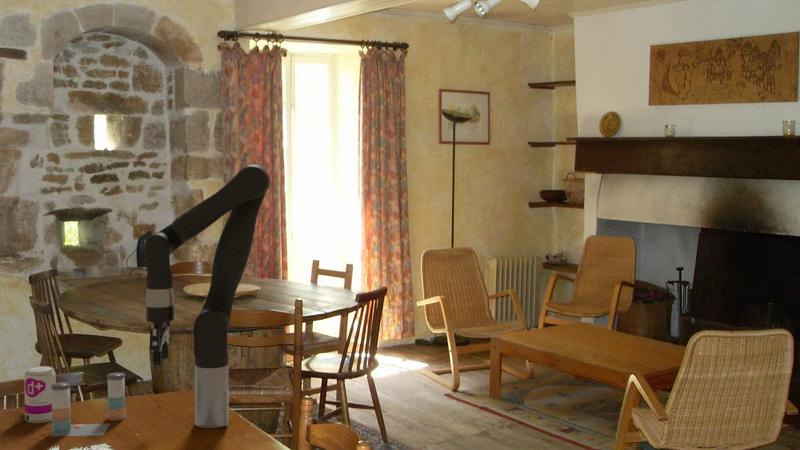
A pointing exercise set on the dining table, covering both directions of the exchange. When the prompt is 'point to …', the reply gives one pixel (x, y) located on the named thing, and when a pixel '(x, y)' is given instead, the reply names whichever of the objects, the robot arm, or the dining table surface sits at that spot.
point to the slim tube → (116, 396)
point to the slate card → (86, 430)
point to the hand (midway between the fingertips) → (160, 361)
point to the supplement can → (38, 393)
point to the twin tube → (61, 408)
